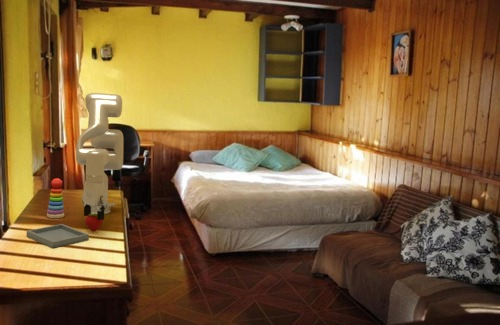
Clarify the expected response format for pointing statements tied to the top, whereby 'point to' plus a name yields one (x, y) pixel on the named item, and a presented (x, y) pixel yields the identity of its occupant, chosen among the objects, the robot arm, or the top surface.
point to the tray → (57, 235)
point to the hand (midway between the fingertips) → (93, 217)
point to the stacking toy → (56, 200)
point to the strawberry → (93, 222)
